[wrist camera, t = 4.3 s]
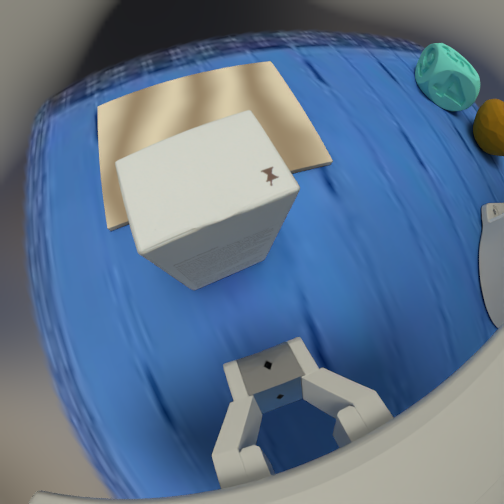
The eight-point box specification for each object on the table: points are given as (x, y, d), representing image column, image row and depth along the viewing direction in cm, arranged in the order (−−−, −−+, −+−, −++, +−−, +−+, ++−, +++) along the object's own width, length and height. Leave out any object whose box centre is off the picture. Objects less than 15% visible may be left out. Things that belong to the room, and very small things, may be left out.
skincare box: (242, 212, 22) (254, 105, 10) (265, 260, 21) (307, 190, 9) (170, 242, 21) (110, 158, 9) (191, 293, 20) (138, 259, 8)
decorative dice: (458, 119, 28) (486, 90, 20) (417, 94, 28) (444, 58, 20) (449, 90, 30) (472, 62, 22) (412, 67, 30) (432, 35, 22)
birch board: (270, 64, 26) (270, 61, 26) (330, 164, 23) (332, 161, 23) (99, 110, 23) (97, 106, 23) (110, 230, 20) (107, 228, 20)
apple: (503, 168, 27) (537, 144, 19) (481, 166, 26) (519, 137, 18) (481, 124, 29) (509, 97, 20) (455, 117, 28) (486, 84, 19)
